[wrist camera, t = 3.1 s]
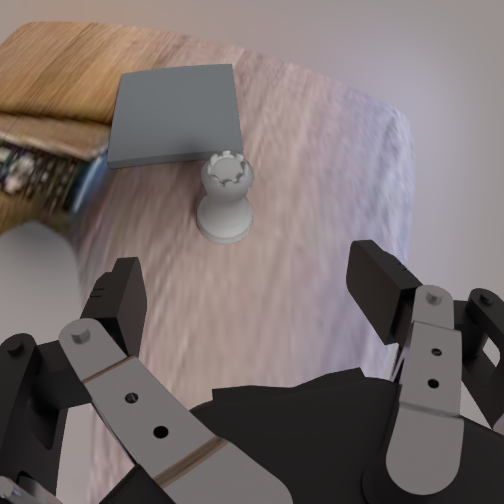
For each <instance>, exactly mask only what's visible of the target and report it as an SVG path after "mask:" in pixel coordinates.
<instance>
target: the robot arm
mask: <svg viewBox="0 0 504 504" xmlns="http://www.w3.org/2000/svg"><path fill="white" fill-rule="evenodd" d="M346 284H347V288H348V291H349V292H350V294H351V295H352V297H353V298H354V300H355V301H356V303H357V304H358V306H359V307H360V309H361V310H362V311H363V313H364V314H365V316H366V317H367V319H368V320H369V322H370V323H371V325H372V326H373V328H374V329H375V331H376V333H377V334H378V336H379V337H380V339H381V340H382V342H383V343H384V345H388V344H393V343H398V344H399V346H398V349H397V351H396V355H395V359H394V363H393V367H392V371H391V375H390V379H389V380H385V379H380V378H372V377H365V376H364V374H363V372H362V370H361V368H360V367H359V368H354V369H349V370H344V371H339V372H334V373H329V374H325V375H323V376H321V377H318V378H316V379H313V380H311V381H308V382H306V383H303V384H301V385H298V386H296V387H291V388H284V387H267V386H253V385H249V386H240V387H230V388H219V389H212V396H213V400H211V401H208V402H205V403H203V404H200V405H198V406H196V407H194V408H192V409H190V410H189V411H188V410H187V409H186V408H185V407H184V406H183V405H182V404H181V403H180V402H179V401H178V400H177V399H176V398H175V397H174V396H173V395H172V394H171V393H170V392H169V391H168V390H167V389H166V388H165V387H164V386H163V385H162V384H161V383H160V382H159V381H158V380H157V379H156V378H155V377H154V376H153V375H152V373H151V372H150V371H149V370H148V369H147V368H146V367H145V366H144V365H143V364H142V363H141V362H140V360H139V359H138V357H139V351H140V345H141V339H142V333H143V327H144V322H145V316H146V311H147V297H146V291H145V286H144V281H143V277H142V272H141V266H140V262H139V259H138V257H128V258H118V259H117V261H116V263H115V265H114V268H113V270H112V272H105V273H104V274H103V275H102V276H101V277H100V278H99V279H98V280H97V281H96V283H95V285H94V287H93V291H92V292H91V294H90V298H88V301H87V303H86V305H85V307H84V310H83V312H82V314H81V317H80V319H78V320H75V321H73V322H71V323H69V324H68V325H66V326H65V327H64V328H63V329H62V330H61V332H60V334H59V340H56V341H53V342H49V343H45V344H41V345H37V344H36V342H35V340H34V338H33V337H32V336H31V335H29V334H26V333H20V334H16V335H13V336H11V337H9V338H8V339H6V340H5V341H4V342H3V343H2V344H1V346H0V504H63V503H62V502H61V501H60V500H59V499H57V498H56V487H57V478H58V469H59V461H60V454H61V447H62V441H63V435H64V429H65V423H66V418H67V412H68V408H70V407H75V406H79V405H83V404H87V403H91V405H92V406H93V408H94V409H95V411H96V412H97V414H98V415H99V417H100V418H101V420H102V421H103V423H104V424H105V426H106V427H107V429H108V430H109V432H110V433H111V435H112V436H113V437H114V439H115V440H116V442H117V443H118V444H119V446H120V447H121V449H122V450H123V451H124V453H125V454H126V456H127V457H128V458H129V460H130V461H131V462H132V464H133V465H134V467H133V468H132V469H131V470H130V471H129V472H128V474H127V475H126V476H125V477H124V478H123V479H122V480H121V481H120V482H119V483H118V484H117V485H116V486H115V487H114V488H113V489H112V490H111V491H110V492H109V494H108V495H107V496H106V497H105V498H104V499H103V500H102V501H101V502H100V503H99V504H504V302H503V301H502V300H501V299H500V298H499V297H498V296H497V295H496V294H494V293H493V292H491V291H489V290H486V289H481V288H476V289H473V290H472V291H471V293H470V295H469V298H468V301H458V300H453V298H452V296H451V295H450V294H449V293H448V292H447V291H446V290H444V289H442V288H440V287H438V286H434V285H423V284H422V283H421V282H420V281H419V280H418V279H417V278H416V277H415V276H414V275H413V274H412V273H411V272H410V271H409V270H407V268H406V267H405V266H404V265H402V264H401V262H400V261H399V260H398V259H397V258H396V257H395V256H393V255H391V254H389V253H387V252H385V251H383V250H382V249H381V248H380V247H379V246H378V245H377V244H376V243H375V242H374V241H373V240H359V241H353V242H352V244H351V247H350V254H349V261H348V268H347V274H346ZM488 337H489V338H490V339H491V340H492V341H493V343H494V344H495V345H496V346H497V348H498V349H499V352H500V361H499V363H498V365H497V367H495V366H494V364H493V363H492V362H491V360H490V359H489V358H488V357H487V355H486V354H485V353H484V351H483V350H482V349H483V347H484V345H485V343H486V341H487V339H488ZM461 380H462V382H463V383H464V385H465V386H466V387H467V389H468V391H469V393H470V394H471V396H472V397H473V399H474V401H475V402H476V404H477V405H478V407H479V409H480V410H481V412H482V414H483V415H484V417H485V419H486V420H487V422H488V424H489V425H490V427H491V429H492V430H491V429H489V428H487V427H485V426H482V425H480V424H478V423H476V422H474V421H472V420H470V419H468V418H466V417H464V416H462V415H460V399H461Z"/></svg>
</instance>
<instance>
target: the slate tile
mask: <svg viewBox="0 0 504 504" xmlns="http://www.w3.org/2000/svg"><path fill="white" fill-rule="evenodd" d="M223 149H230V153H231V154H235V155H236V154H237V152H240V153H241V154H242V152H243V147H242V139H241V131H240V123H239V115H238V107H237V99H236V92H235V84H234V76H233V68H232V64H218V65H198V66H184V67H173V68H163V69H154V70H146V71H139V72H132V73H125V74H122V77H121V81H120V86H119V91H118V95H117V101H116V106H115V111H114V117H113V122H112V128H111V135H110V141H109V148H108V155H107V164H108V166H109V168H110V169H115V168H123V167H131V166H139V165H148V164H158V163H168V162H179V161H192V160H205V159H209V157H210V156H212V155H213V154H214V153H216V154H217V155H218V154H222V150H223Z"/></svg>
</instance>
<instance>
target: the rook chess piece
mask: <svg viewBox="0 0 504 504" xmlns="http://www.w3.org/2000/svg"><path fill="white" fill-rule="evenodd" d="M253 179H254V175H253V169H252V167H251V166H250V164H249V162H248V161H247V160H245V159H244V155H243V154H241V153H240V152H237V154H236V155H235V154H231V153H230V149H223V150H222V154H218V155H217V154H216V153H214V154H213V155H212V156H210V157H209V160H208V161H207V162H206V163H205V164H204V166H203V168H202V170H201V181H202V183H203V185H204V187H205V192H206V194H207V195H206V196H205V197H204V198H203V199H202V200H201V202H200V204H199V207H198V209H197V225H198V227H199V229H200V231H201V233H202V234H203V235H204V236H205V237H206V238H208V239H209V240H210V241H212V242H216V243H219V244H233V243H235V242H237V241H239V240H241V239H243V238H244V237H245V236H246V234H247V233H248V232H249V231H250V228H251V225H252V222H253V219H252V218H253V212H252V206H251V204H250V202H249V201H248V199H247V197H246V194H247V191H248V189H249V188H250V187H251V185H252V182H253Z"/></svg>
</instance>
